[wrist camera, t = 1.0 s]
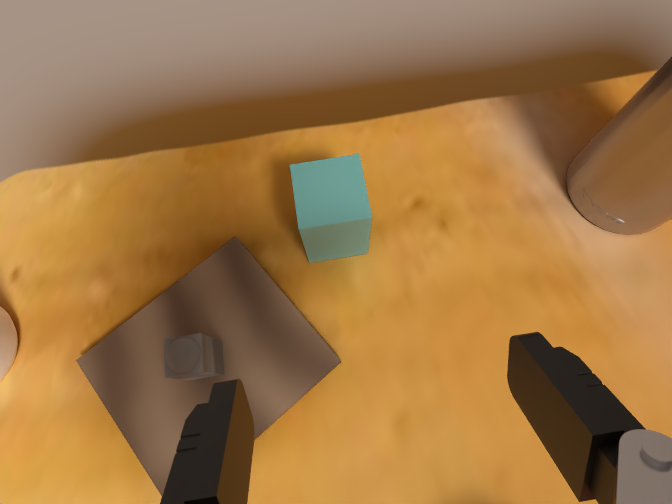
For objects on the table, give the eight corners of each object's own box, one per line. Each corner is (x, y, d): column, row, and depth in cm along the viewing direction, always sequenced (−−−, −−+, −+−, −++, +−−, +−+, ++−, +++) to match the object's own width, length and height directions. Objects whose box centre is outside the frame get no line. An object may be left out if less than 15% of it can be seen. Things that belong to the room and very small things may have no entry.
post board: (239, 240, 38) (214, 207, 31) (341, 361, 34) (338, 353, 27) (84, 361, 35) (19, 353, 28) (179, 508, 31) (130, 541, 24)
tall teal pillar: (357, 200, 38) (359, 153, 31) (367, 253, 37) (372, 217, 29) (301, 209, 38) (289, 164, 31) (309, 263, 37) (298, 229, 29)
